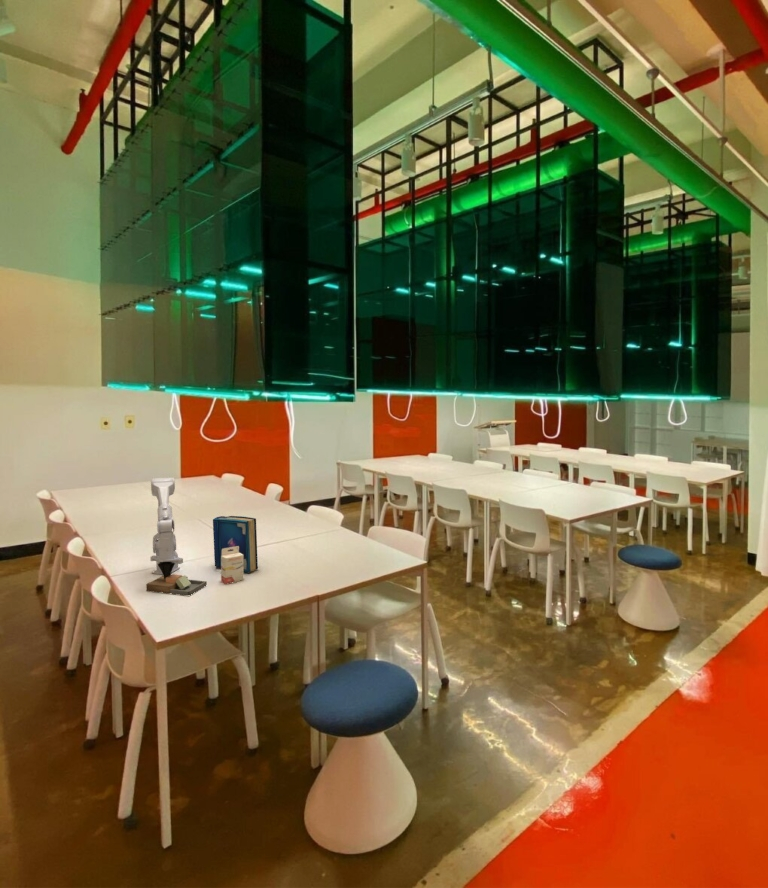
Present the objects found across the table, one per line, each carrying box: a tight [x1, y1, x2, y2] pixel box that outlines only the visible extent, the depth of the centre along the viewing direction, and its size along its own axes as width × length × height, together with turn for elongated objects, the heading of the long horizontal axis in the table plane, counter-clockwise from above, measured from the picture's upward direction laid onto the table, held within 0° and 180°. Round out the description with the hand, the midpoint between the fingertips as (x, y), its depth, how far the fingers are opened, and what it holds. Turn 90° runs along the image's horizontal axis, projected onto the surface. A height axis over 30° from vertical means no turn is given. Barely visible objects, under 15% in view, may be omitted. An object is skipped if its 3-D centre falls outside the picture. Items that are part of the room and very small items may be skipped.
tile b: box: [175, 574, 191, 590], centre depth 206 cm, size 4×4×2 cm
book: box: [212, 515, 259, 574], centre depth 231 cm, size 22×7×25 cm, turn 68°
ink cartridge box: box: [220, 546, 244, 585], centre depth 216 cm, size 9×5×15 cm, turn 131°
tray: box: [170, 578, 207, 596], centre depth 206 cm, size 12×9×2 cm
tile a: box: [166, 573, 183, 583], centre depth 207 cm, size 4×4×2 cm
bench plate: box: [145, 575, 189, 594], centre depth 208 cm, size 12×11×3 cm
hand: (167, 578), depth 208 cm, fingers closed
